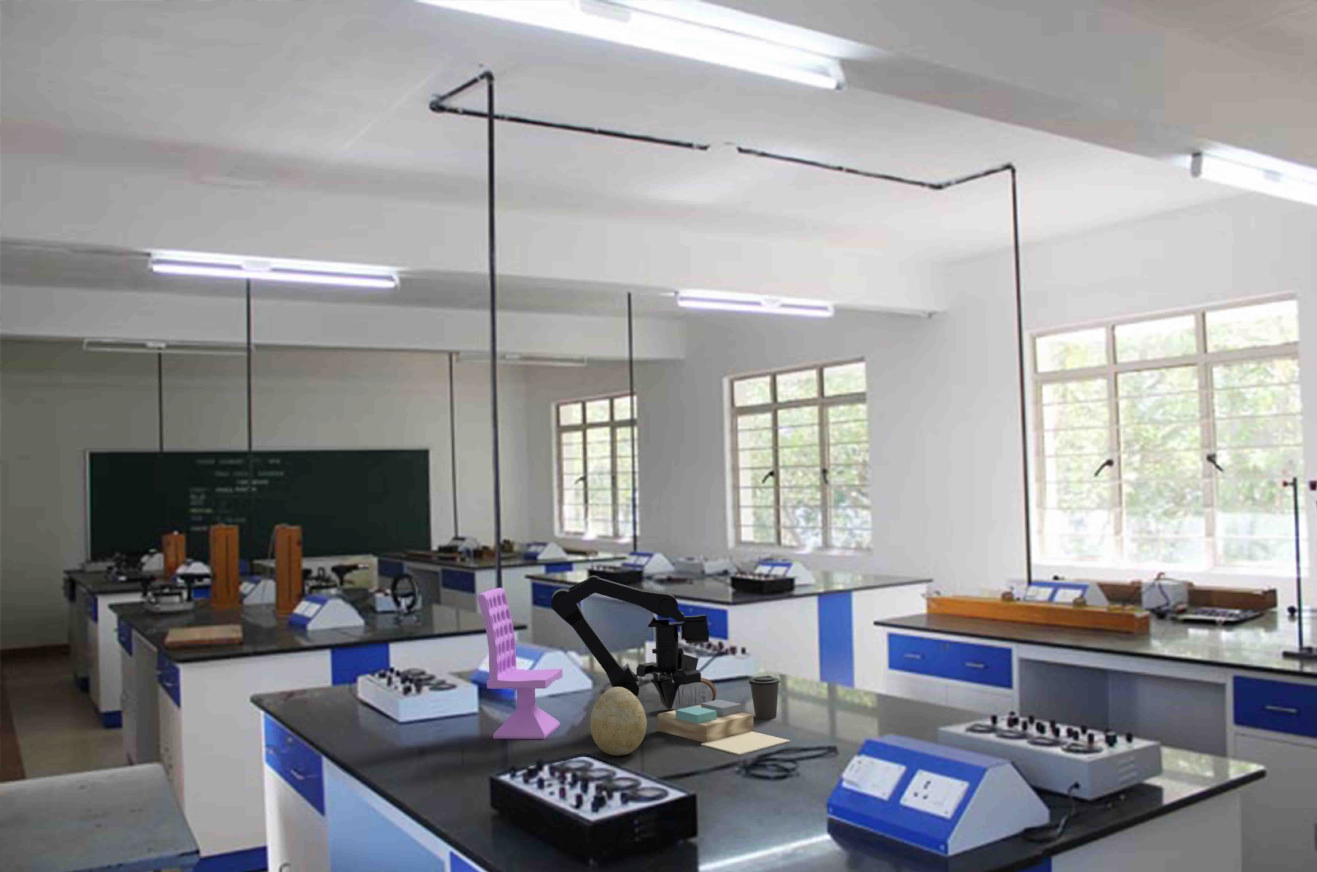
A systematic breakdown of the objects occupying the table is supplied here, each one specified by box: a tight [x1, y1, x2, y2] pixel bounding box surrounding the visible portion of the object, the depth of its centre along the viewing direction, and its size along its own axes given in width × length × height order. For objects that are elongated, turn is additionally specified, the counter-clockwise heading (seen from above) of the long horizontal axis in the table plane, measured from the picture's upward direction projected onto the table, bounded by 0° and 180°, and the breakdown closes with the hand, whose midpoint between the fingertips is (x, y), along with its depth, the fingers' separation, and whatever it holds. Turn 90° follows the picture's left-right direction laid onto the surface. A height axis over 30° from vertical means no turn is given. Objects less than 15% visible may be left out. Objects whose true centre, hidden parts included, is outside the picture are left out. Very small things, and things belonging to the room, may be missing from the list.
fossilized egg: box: [589, 687, 648, 757], centre depth 232 cm, size 13×13×15 cm
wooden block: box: [657, 705, 755, 743], centre depth 251 cm, size 15×18×4 cm
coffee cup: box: [748, 675, 781, 720], centre depth 264 cm, size 8×8×10 cm
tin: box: [659, 677, 717, 711], centre depth 275 cm, size 15×3×8 cm, turn 84°
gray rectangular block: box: [701, 699, 743, 717], centre depth 253 cm, size 6×8×2 cm
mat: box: [700, 731, 791, 756], centre depth 238 cm, size 16×13×1 cm
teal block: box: [676, 706, 717, 724], centre depth 247 cm, size 6×8×2 cm
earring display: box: [476, 587, 563, 740], centre depth 257 cm, size 15×17×35 cm
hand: (669, 708), depth 254 cm, fingers closed
